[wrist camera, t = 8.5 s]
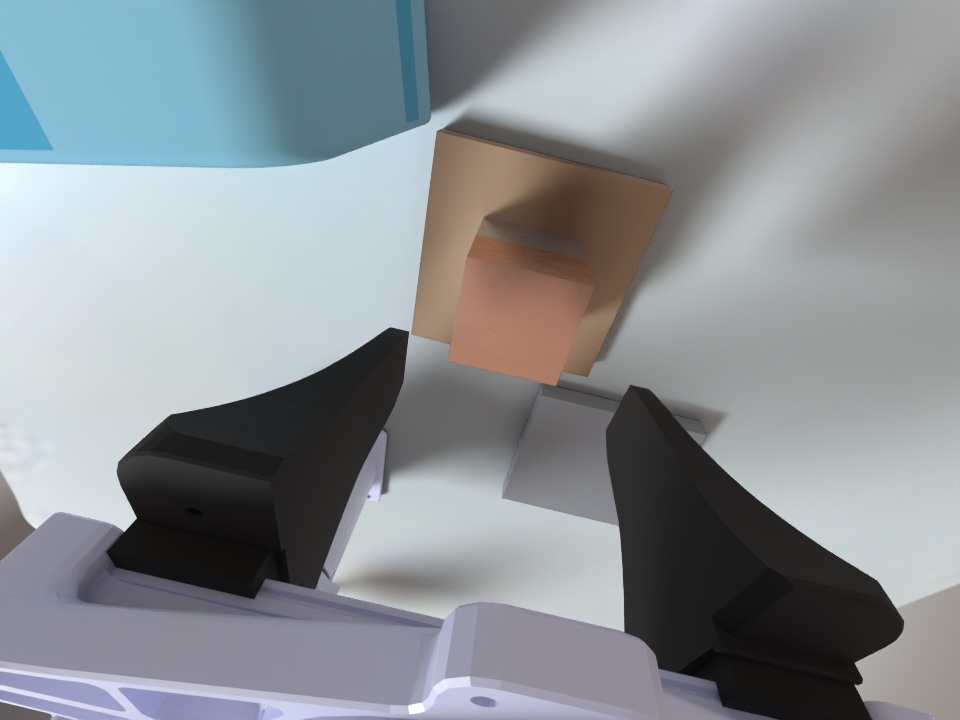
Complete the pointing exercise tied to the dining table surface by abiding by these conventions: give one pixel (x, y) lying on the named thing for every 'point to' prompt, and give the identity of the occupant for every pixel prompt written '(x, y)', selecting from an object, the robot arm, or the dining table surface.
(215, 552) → the robot arm
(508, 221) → the walnut stand
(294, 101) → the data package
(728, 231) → the dining table surface
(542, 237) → the orange-brown cube
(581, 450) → the slate stand
